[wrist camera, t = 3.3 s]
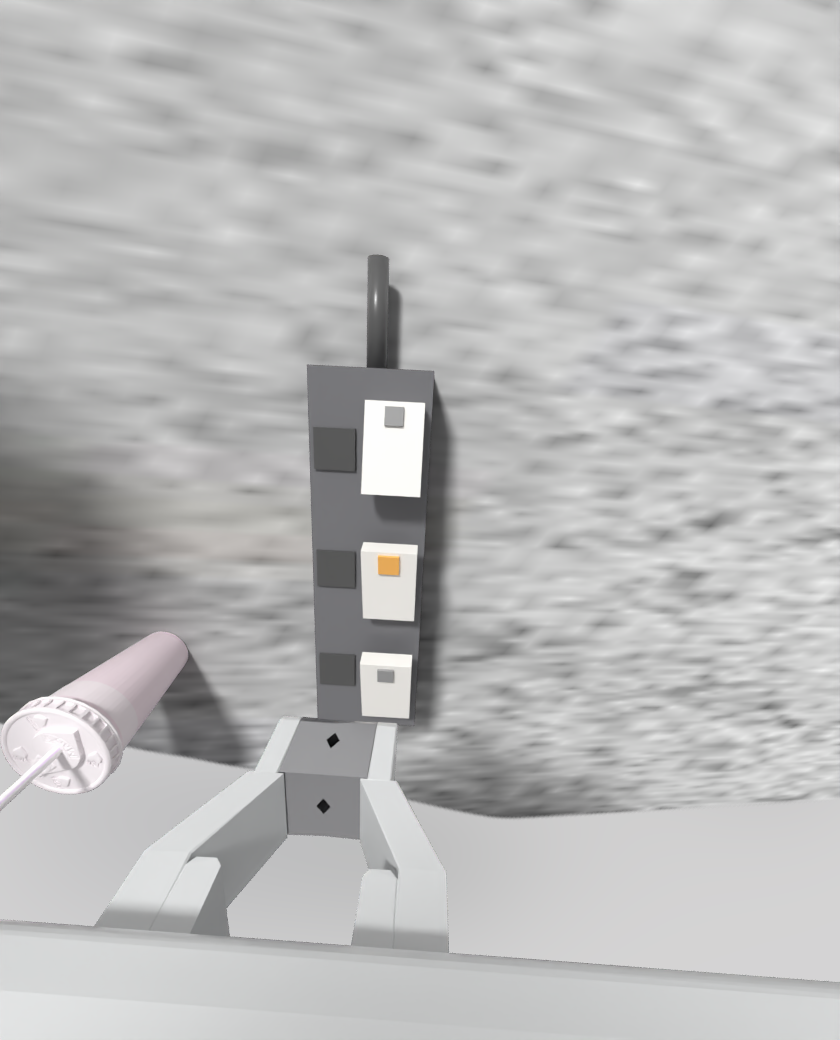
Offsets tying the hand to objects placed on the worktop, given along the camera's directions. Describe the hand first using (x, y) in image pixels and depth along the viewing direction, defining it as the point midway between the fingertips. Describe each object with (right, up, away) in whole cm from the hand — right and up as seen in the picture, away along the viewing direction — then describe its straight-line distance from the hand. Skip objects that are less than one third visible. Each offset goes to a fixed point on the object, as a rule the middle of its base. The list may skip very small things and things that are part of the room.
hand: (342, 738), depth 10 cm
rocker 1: (+1, +10, +12) cm, 16 cm away
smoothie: (-19, -5, +22) cm, 29 cm away
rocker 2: (0, +2, +14) cm, 15 cm away
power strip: (-1, +7, +17) cm, 19 cm away
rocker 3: (0, -5, +17) cm, 17 cm away
